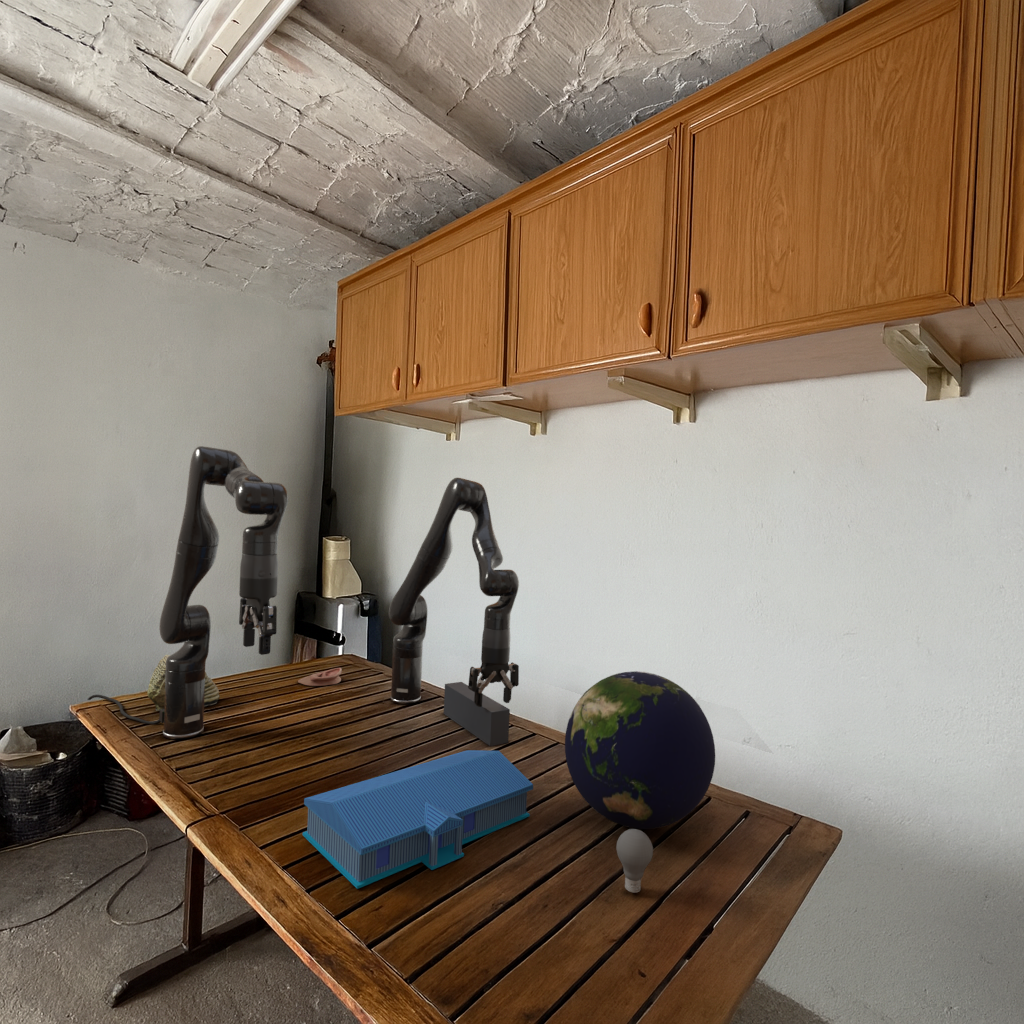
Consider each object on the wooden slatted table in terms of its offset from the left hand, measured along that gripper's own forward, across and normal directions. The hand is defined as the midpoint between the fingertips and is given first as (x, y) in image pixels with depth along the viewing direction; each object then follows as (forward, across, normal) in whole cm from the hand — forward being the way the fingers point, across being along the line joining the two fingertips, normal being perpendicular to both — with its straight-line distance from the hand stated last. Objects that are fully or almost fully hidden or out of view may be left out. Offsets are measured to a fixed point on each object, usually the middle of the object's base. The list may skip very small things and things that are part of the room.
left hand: (256, 650), depth 136 cm
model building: (+30, -37, -19) cm, 51 cm away
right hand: (+20, -11, -60) cm, 64 cm away
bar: (+30, -1, -62) cm, 69 cm away
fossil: (+30, +62, -4) cm, 69 cm away
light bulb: (+30, -75, -34) cm, 88 cm away
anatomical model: (+30, +63, -47) cm, 84 cm away
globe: (+30, -61, -54) cm, 87 cm away
